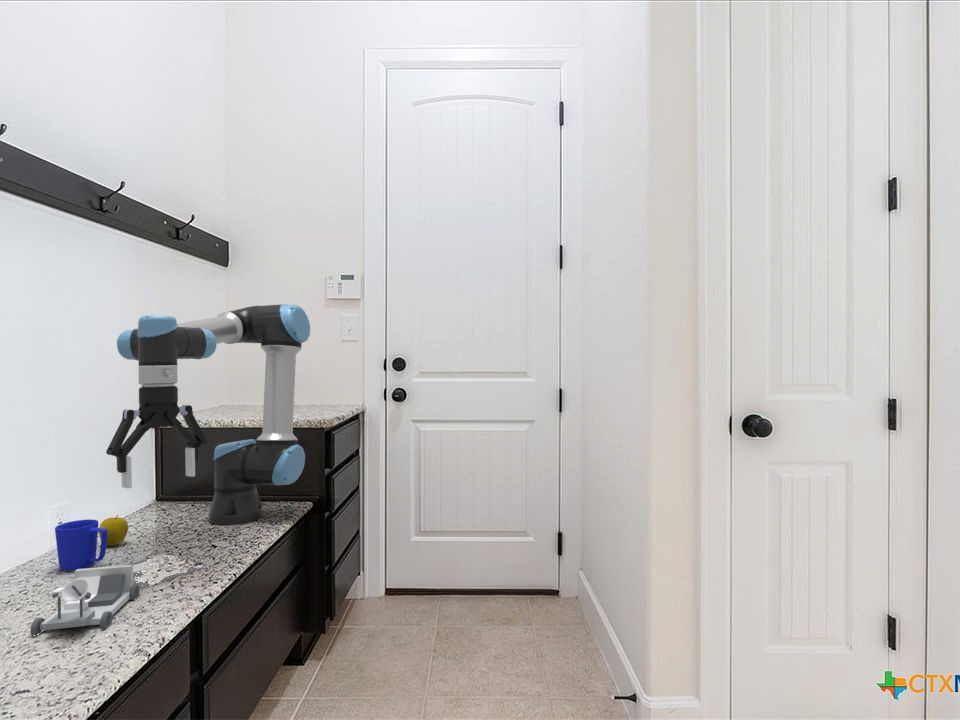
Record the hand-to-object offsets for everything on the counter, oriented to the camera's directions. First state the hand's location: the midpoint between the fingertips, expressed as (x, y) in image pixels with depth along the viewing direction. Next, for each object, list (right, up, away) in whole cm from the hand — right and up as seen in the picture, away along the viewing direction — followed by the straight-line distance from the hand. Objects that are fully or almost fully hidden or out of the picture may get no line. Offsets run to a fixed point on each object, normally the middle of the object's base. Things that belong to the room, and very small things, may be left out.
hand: (160, 481), depth 124 cm
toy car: (-2, -21, -20) cm, 30 cm away
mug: (-21, -21, +6) cm, 30 cm away
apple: (-24, -21, +22) cm, 39 cm away
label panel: (-3, -21, +3) cm, 21 cm away
